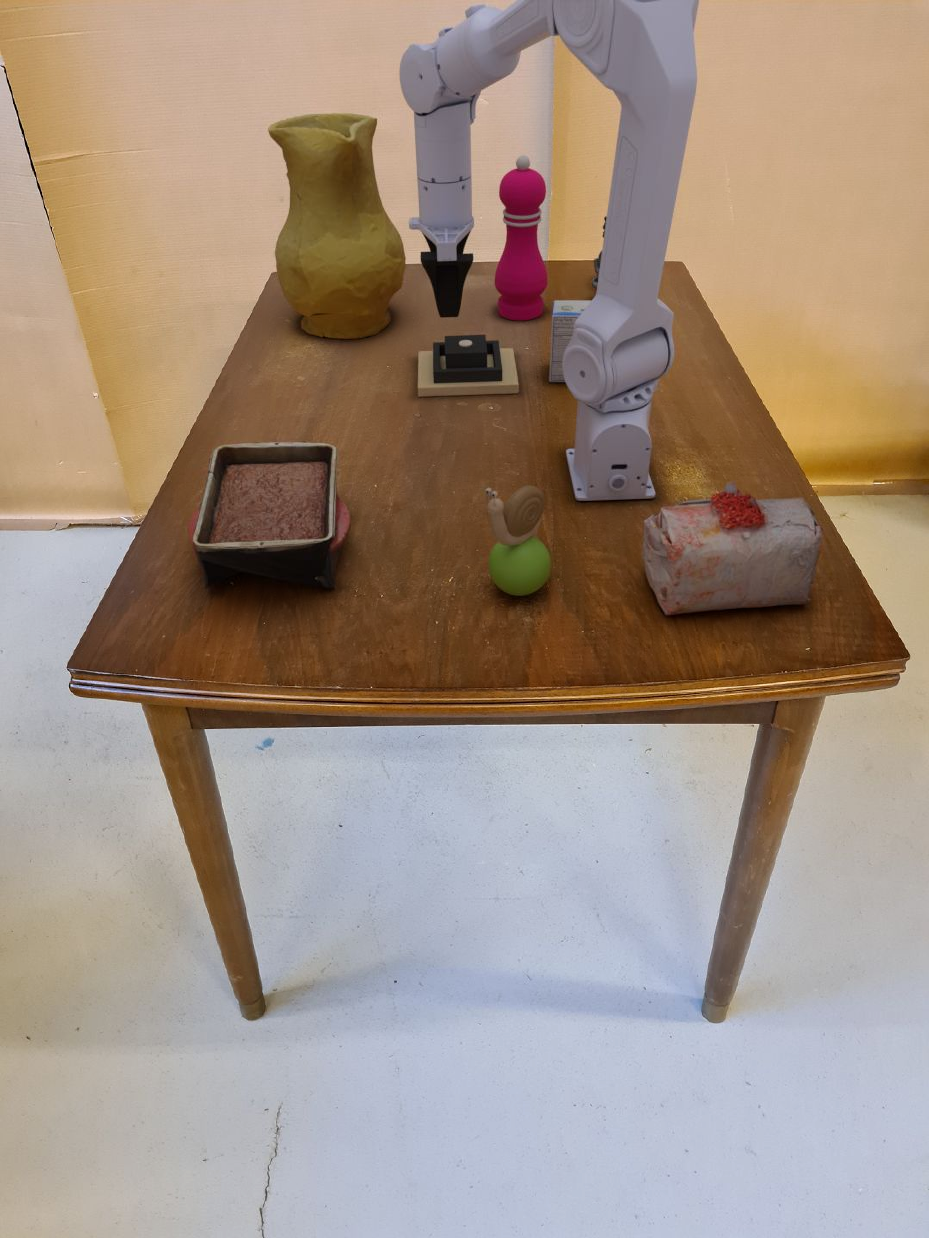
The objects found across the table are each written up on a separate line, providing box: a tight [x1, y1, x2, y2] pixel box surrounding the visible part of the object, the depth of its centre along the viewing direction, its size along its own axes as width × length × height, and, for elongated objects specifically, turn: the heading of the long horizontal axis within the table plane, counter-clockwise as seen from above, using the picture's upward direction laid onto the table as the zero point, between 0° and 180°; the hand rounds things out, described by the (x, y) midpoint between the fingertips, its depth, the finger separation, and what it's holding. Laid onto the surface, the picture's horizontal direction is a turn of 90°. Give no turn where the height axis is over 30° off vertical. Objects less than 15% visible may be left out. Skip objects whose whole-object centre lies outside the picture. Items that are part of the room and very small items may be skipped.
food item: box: [641, 480, 824, 616], centre depth 76 cm, size 14×8×10 cm, turn 95°
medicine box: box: [548, 299, 592, 383], centre depth 108 cm, size 8×4×9 cm, turn 84°
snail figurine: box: [485, 485, 552, 597], centre depth 76 cm, size 5×6×12 cm
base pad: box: [417, 339, 520, 398], centre depth 111 cm, size 10×12×3 cm
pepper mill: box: [494, 154, 549, 321], centre depth 120 cm, size 7×7×20 cm
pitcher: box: [267, 112, 407, 340], centre depth 118 cm, size 17×19×25 cm
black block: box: [444, 334, 487, 369], centre depth 110 cm, size 5×5×3 cm
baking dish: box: [188, 441, 352, 590], centre depth 83 cm, size 14×18×10 cm
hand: (448, 302), depth 104 cm, fingers open, 7 cm apart
